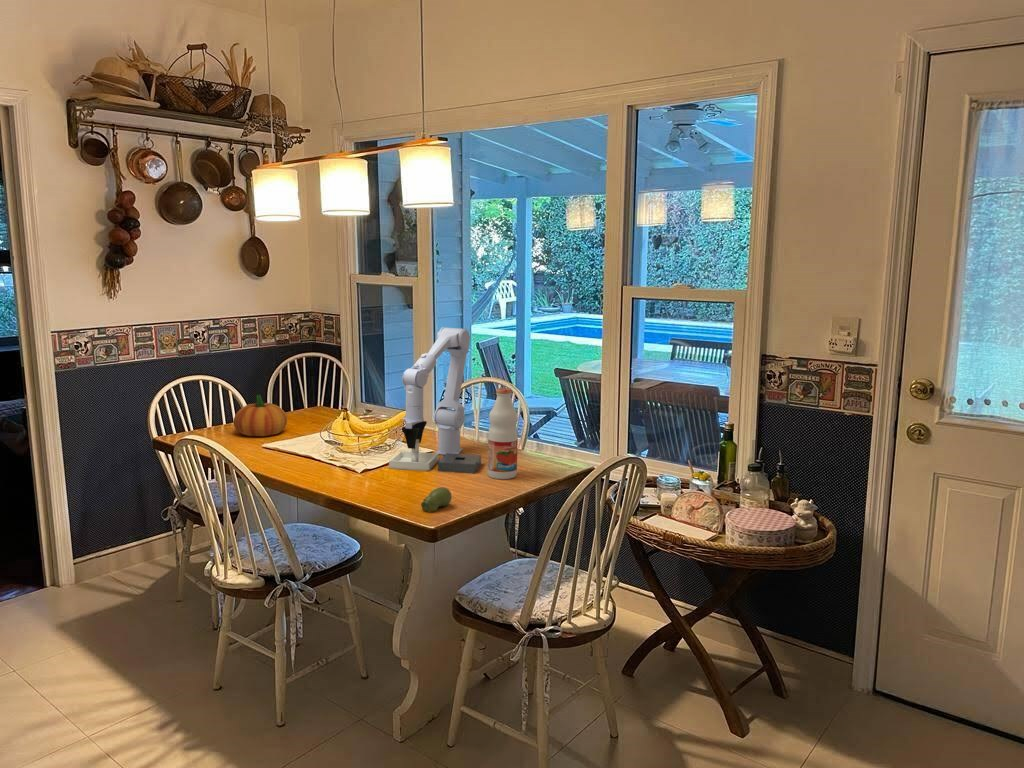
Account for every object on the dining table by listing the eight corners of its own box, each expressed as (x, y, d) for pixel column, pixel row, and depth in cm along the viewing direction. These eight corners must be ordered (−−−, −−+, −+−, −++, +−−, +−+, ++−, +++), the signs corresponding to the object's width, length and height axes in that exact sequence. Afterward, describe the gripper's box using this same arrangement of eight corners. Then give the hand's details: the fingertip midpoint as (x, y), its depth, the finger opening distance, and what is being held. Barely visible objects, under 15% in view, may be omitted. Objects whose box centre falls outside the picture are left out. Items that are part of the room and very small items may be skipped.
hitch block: (446, 461, 263) (446, 453, 263) (481, 463, 262) (481, 455, 261) (438, 471, 252) (438, 462, 251) (474, 473, 250) (474, 464, 249)
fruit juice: (502, 470, 255) (504, 385, 250) (522, 476, 248) (525, 389, 244) (481, 475, 248) (482, 388, 244) (501, 481, 242) (503, 392, 237)
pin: (412, 461, 260) (412, 438, 259) (419, 462, 260) (419, 438, 259) (410, 463, 258) (410, 439, 256) (417, 463, 257) (418, 440, 256)
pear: (454, 486, 216) (431, 500, 209) (456, 503, 218) (433, 518, 210) (439, 482, 219) (415, 496, 212) (441, 499, 221) (417, 514, 213)
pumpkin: (278, 440, 288) (277, 400, 286) (226, 438, 288) (225, 399, 286) (293, 428, 307) (292, 391, 305) (244, 427, 307) (243, 390, 305)
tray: (400, 458, 266) (400, 451, 266) (438, 460, 264) (438, 453, 264) (389, 468, 253) (389, 460, 253) (428, 471, 251) (428, 463, 251)
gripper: (408, 400, 263) (408, 439, 265) (396, 408, 249) (396, 450, 251) (429, 401, 262) (428, 441, 264) (417, 409, 248) (417, 451, 250)
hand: (414, 445), depth 258 cm, fingers open, 7 cm apart
